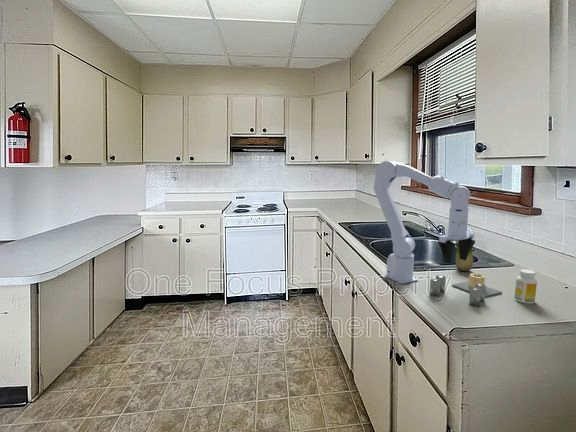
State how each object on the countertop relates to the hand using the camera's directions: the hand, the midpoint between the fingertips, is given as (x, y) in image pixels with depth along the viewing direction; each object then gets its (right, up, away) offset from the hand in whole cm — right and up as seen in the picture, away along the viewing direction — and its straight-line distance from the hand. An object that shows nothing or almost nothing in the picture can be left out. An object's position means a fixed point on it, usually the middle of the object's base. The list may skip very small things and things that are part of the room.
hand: (455, 261), depth 121 cm
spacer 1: (-9, -10, -6) cm, 15 cm away
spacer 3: (-1, -12, -14) cm, 18 cm away
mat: (+7, -10, -1) cm, 12 cm away
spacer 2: (-6, -10, -2) cm, 12 cm away
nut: (+7, -9, -1) cm, 11 cm away
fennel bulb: (+13, -7, +21) cm, 25 cm away
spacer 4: (+3, -11, -10) cm, 15 cm away
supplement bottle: (+17, -11, -11) cm, 23 cm away
